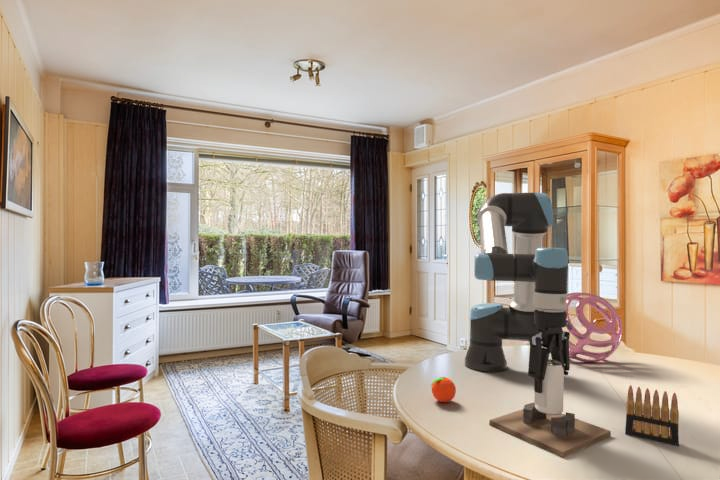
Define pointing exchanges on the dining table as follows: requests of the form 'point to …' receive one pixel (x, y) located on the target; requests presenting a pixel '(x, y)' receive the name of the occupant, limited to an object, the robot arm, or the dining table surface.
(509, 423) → the wooden board with blocks
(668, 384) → the dining table surface
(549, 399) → the can
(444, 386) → the clementine
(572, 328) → the pink slotted hollow sphere
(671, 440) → the ammunition clip
